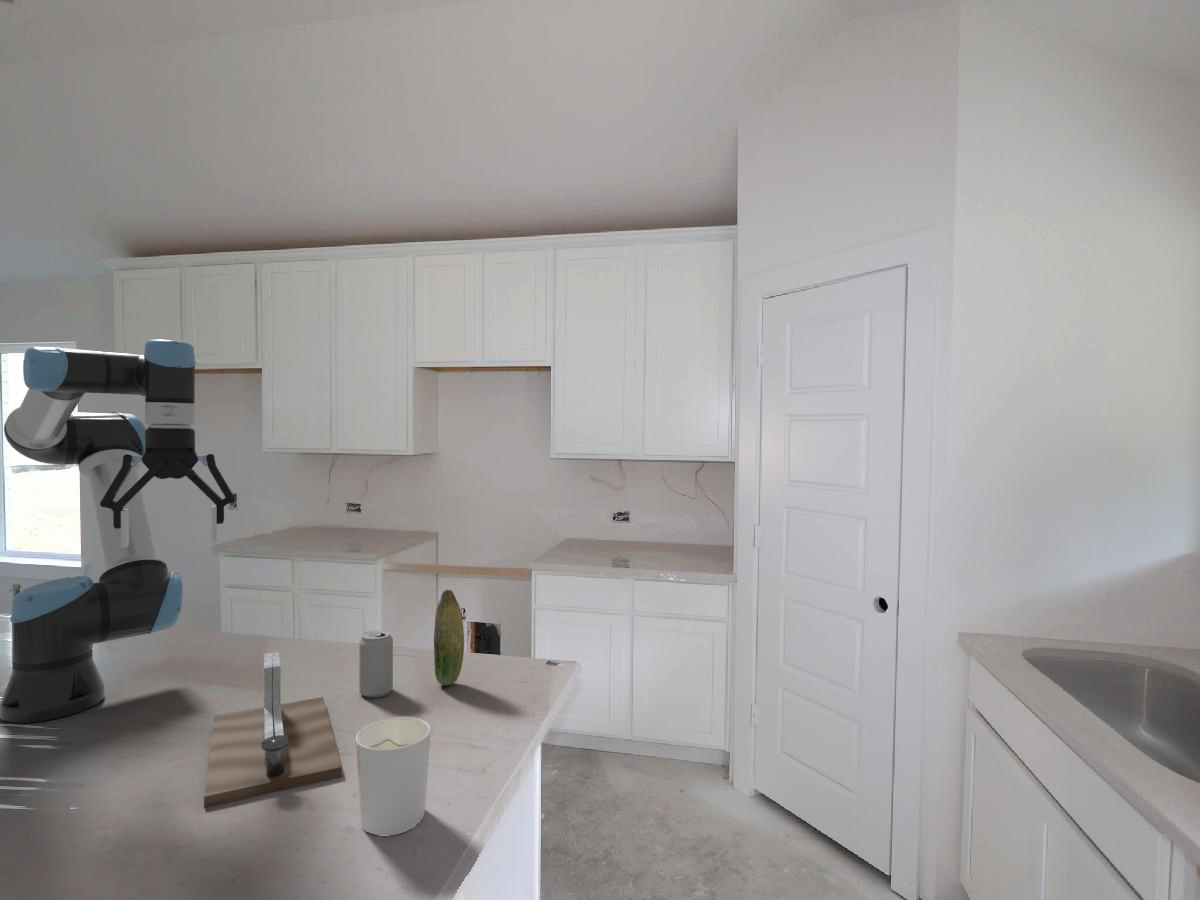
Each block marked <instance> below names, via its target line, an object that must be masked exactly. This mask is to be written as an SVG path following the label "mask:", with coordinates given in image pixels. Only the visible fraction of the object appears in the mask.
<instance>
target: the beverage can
mask: <svg viewBox="0 0 1200 900" xmlns="http://www.w3.org/2000/svg"><path fill="white" fill-rule="evenodd" d="M391 635H392V632H391V631H389V630H384V629H379V630H371V631H365V632H364V633H362V634H361V636H360V637H361V639H359V643H358V644H359V645H358V646H359V647H358V648H359V657H358V661H359V665H358V667H359V668H358V669H359V672H358V673H359V677H358V681H359V685H358V686H359V688H358V689H359V693H360V695H362V696H364V697H365V698H370V699H371V698H372V699H373V698H375V699H376V698H381V697H384V696H387V695H388V694H390V692H391V691H392V690H393V686H394V680H393V679H394V677H393V676H394V669H393V667H394V666H393V665H394V638H393V637H392V636H391Z"/></svg>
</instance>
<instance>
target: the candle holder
mask: <svg viewBox="0 0 1200 900" xmlns="http://www.w3.org/2000/svg"><path fill="white" fill-rule="evenodd" d="M431 733H432V728H431V726H430V724H429V723H428V722H427V721H426V720H424V719H421V718H418V717H412V716H394V717H388V718H383V719H379V720H378V719H377V720H376V721H373V722H371V723H368V724H367V725H365V726H363V727H362V728H361V729H359V731H358V732H357V733H356V735H355V745H356V761H357V762H356V763H357V780H358V795H359V796H358V797H359V799H358V800H359V813H360V823H361V827H362V828H363V830H364V832H366V833H367V832H369V833H371V834H375V835H395V836H397V835H396V834H399V833H402V832H405V831H407V830H409V829H411V828H413V827H414V826H416V825H417V824H418V823H419V824H421V822H422V821H423V819H424V816H425V811H426V801H427V790H428V789H427V786H428V773H429V772H428V771H429V757H430V756H429V755H430V743H431V741H430V740H431ZM421 820H422V821H421ZM419 824H418V825H419ZM418 825H417V826H418ZM417 826H416V827H417ZM413 829H414V828H413ZM369 833H368V834H369ZM405 833H406V832H405ZM371 834H370V835H371ZM375 835H374V836H375ZM399 835H400V834H399Z"/></svg>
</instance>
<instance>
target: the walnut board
mask: <svg viewBox="0 0 1200 900" xmlns="http://www.w3.org/2000/svg"><path fill="white" fill-rule="evenodd" d="M280 706H281V715H282V724H283V732H284V736H287V737H288V738H289V743H288V745H287V746H285V762H284V773H283V774H282V775H280V776H277V777H267V776H266V766H265V750H263V749H262V741H263V740H265V734H264V706H261V707H256V708H248V709H243V710H237V711H231V712H226V713H220V714H214V716H213V724H212V731H211V739H210V747H209V753H208V760H207V761H208V762H207V763H208V764H207V770H206V772H207V773H206V777H205V779H206V780H205V786H204V787H205V788H204V792H203V793H204V794H203V807H204V808H207V807H211V806H215V805H219V804H220V805H221V804H225V803H229V802H233V801H238V800H242V799H243V800H244V799H248V798H252V797H257V796H261V795H265V794H268V793H269V794H270V793H273V792H279V791H282V790H287V789H292V788H296V787H302V786H305V784H306V785H309V784H315V783H319V782H323V781H328V780H332V779H337V778H341V777H342V763H341V759H340V757H339V755H340V754H339V753H338V749H337V746H336V745H337V744H336V741H335V738H334V733H333V729H332V726H331V722H330V719H329V713H328V711H327V707H326V703H325V699H324V696H321V697H315V698H310V699H304V700H298V701H292V702H291V701H290V702H286V703H280ZM273 736H274V734H273Z"/></svg>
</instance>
